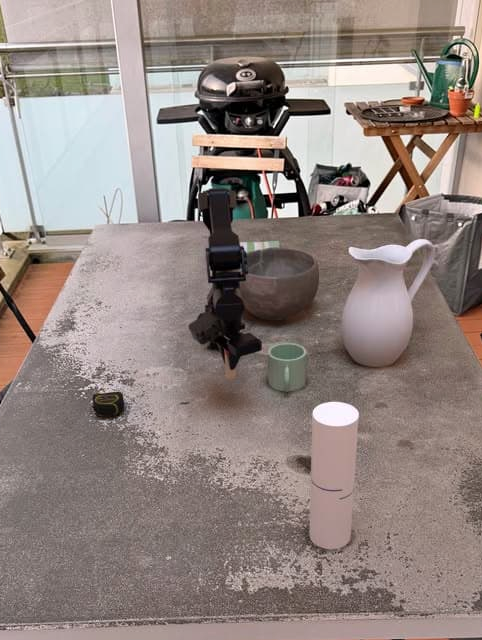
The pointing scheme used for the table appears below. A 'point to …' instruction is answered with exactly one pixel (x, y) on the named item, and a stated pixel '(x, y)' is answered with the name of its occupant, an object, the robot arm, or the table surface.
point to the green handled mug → (287, 367)
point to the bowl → (279, 282)
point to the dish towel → (258, 245)
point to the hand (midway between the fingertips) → (229, 367)
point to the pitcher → (382, 303)
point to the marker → (228, 368)
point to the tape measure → (108, 403)
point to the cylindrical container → (332, 473)
